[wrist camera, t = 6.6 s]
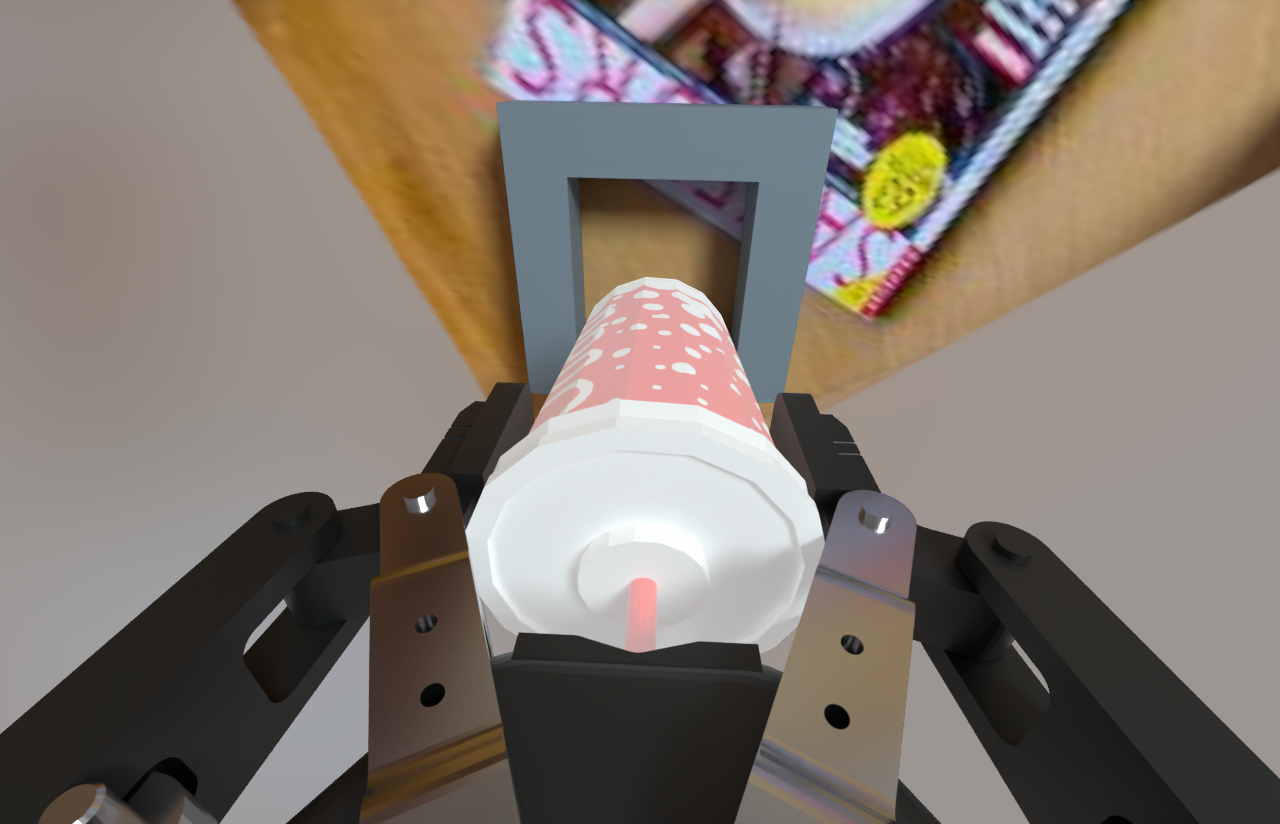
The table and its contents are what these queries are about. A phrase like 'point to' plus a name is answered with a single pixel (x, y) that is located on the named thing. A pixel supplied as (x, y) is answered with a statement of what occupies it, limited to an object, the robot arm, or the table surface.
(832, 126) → the hole plate
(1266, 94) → the table surface
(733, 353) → the beverage cup
